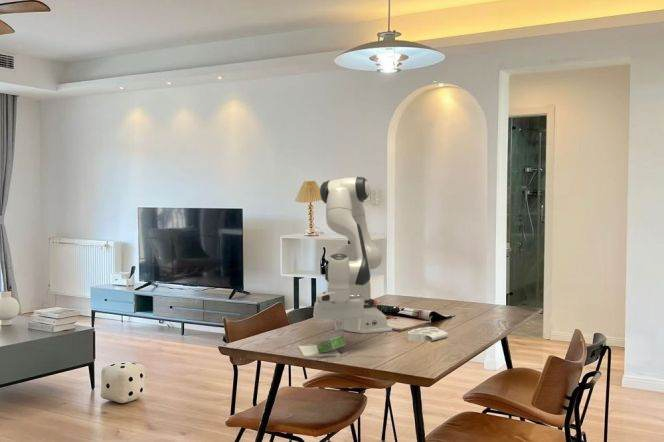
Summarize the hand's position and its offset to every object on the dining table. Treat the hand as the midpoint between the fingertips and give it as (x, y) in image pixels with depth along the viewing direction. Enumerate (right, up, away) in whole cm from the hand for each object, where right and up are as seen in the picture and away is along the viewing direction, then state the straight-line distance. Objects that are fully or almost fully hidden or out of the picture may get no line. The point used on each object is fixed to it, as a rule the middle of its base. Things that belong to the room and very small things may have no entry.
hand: (338, 330), depth 259 cm
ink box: (0, -5, 0) cm, 5 cm away
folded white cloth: (+38, -8, +24) cm, 46 cm away
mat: (-8, -8, -1) cm, 12 cm away
